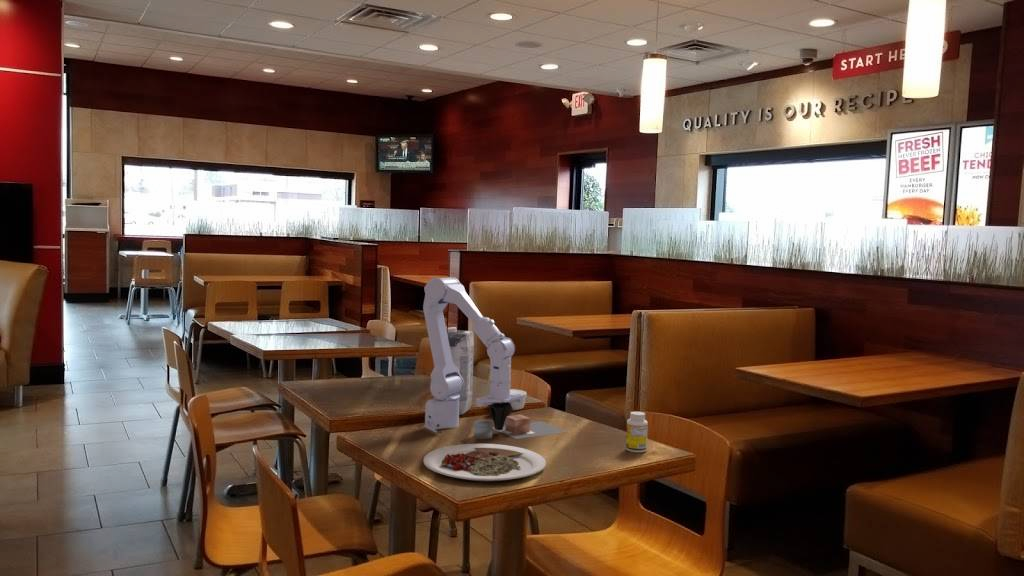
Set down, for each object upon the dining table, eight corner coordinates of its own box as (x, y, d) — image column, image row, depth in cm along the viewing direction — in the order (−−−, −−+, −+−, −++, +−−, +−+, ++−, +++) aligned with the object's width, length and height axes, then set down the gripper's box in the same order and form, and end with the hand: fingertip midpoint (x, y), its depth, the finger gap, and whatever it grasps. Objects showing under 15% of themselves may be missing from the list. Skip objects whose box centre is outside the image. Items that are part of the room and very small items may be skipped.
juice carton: (473, 409, 255) (476, 326, 253) (463, 416, 245) (466, 330, 243) (447, 407, 257) (450, 325, 255) (437, 413, 247) (439, 328, 245)
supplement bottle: (628, 446, 216) (630, 409, 215) (648, 449, 213) (650, 412, 213) (623, 451, 210) (624, 413, 210) (643, 454, 208) (645, 416, 208)
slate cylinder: (479, 443, 214) (480, 425, 213) (470, 439, 218) (471, 421, 218) (495, 441, 216) (496, 423, 216) (486, 437, 221) (486, 419, 220)
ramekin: (487, 405, 263) (487, 389, 262) (517, 403, 267) (518, 388, 267) (499, 412, 252) (500, 396, 252) (531, 410, 257) (532, 394, 256)
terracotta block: (514, 434, 221) (515, 420, 221) (505, 430, 225) (505, 416, 225) (529, 432, 224) (530, 418, 223) (520, 428, 228) (520, 414, 228)
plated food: (569, 477, 188) (570, 463, 187) (455, 493, 173) (456, 478, 172) (507, 445, 213) (508, 433, 213) (404, 458, 199) (404, 445, 198)
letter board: (516, 442, 216) (516, 438, 216) (489, 430, 228) (489, 427, 228) (568, 435, 226) (568, 431, 226) (540, 424, 237) (540, 421, 237)
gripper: (485, 386, 213) (483, 435, 214) (529, 382, 220) (528, 429, 221) (472, 381, 219) (470, 429, 219) (515, 377, 226) (514, 424, 227)
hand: (498, 429), depth 221 cm, fingers closed
